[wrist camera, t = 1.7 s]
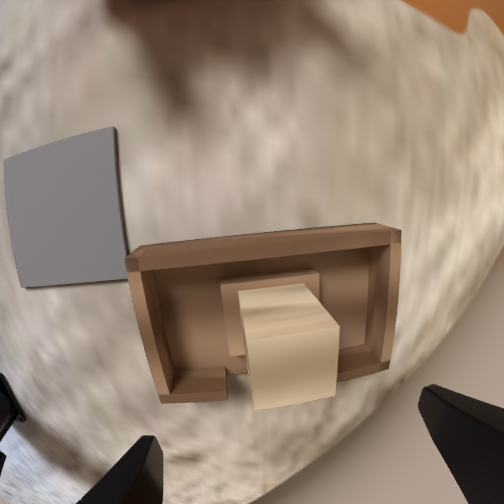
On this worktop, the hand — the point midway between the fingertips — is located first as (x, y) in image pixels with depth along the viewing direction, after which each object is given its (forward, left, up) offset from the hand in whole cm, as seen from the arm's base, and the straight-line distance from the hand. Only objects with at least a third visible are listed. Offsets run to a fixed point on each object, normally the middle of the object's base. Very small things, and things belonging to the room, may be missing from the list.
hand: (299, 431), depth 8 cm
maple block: (-1, -1, -10) cm, 10 cm away
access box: (-1, -1, -12) cm, 12 cm away
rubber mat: (+7, +13, -12) cm, 19 cm away
